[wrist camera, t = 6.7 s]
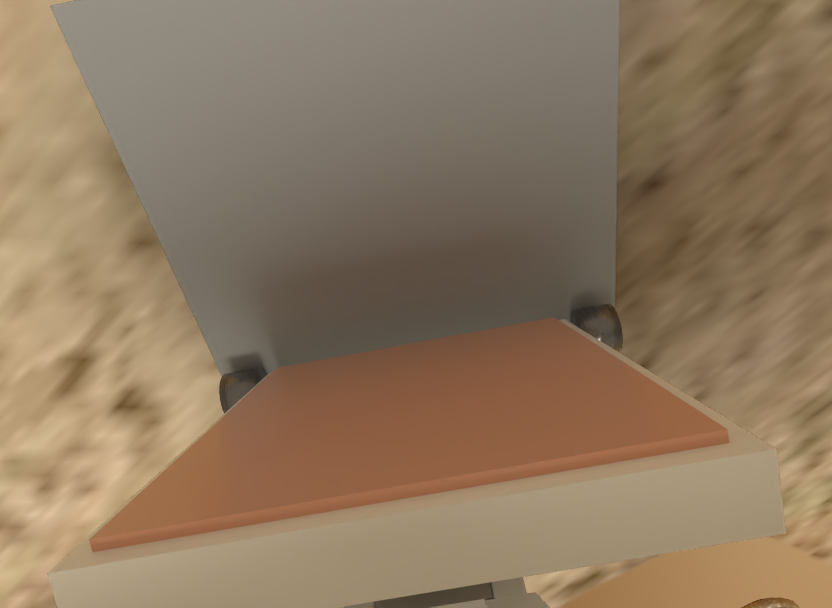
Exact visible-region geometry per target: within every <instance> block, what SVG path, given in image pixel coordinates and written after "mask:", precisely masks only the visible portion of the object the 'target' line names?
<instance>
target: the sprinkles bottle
mask: <svg viewBox="0 0 832 608" xmlns="http://www.w3.org/2000/svg"><path fill="white" fill-rule="evenodd" d="M742 608H799V607H798V605H797V604H795V603H794V602H793V601H791V600H788V599H783V598H765V599H760V600H757V601H754V602H752V603H750V604H748V605H746V606H744V607H742Z"/></svg>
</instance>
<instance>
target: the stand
mask: <svg viewBox="0 0 832 608" xmlns="http://www.w3.org/2000/svg"><path fill="white" fill-rule="evenodd" d="M50 7H51V10H52V12H53V14H54V16H55V18H56V20H57V22H58V25H59V27H60V29H61V31H62V33H63V35H64V38H65V40H66V42H67V44H68V46H69V48H70V50H71V53H72V55H73V57H74V59H75V61H76V63H77V65H78V68H79V70H80V72H81V74H82V76H83V78H84V81H85V83H86V85H87V87H88V89H89V91H90V93H91V96H92V98H93V100H94V102H95V104H96V106H97V109H98V111H99V113H100V115H101V117H102V119H103V121H104V124H105V126H106V128H107V130H108V132H109V134H110V137H111V139H112V141H113V143H114V145H115V147H116V149H117V152H118V154H119V156H120V158H121V160H122V162H123V165H124V167H125V169H126V171H127V173H128V175H129V177H130V180H131V182H132V184H133V186H134V188H135V190H136V193H137V195H138V197H139V199H140V201H141V203H142V205H143V208H144V210H145V212H146V214H147V216H148V218H149V220H150V223H151V225H152V227H153V229H154V231H155V233H156V236H157V238H158V240H159V242H160V244H161V246H162V248H163V251H164V253H165V255H166V257H167V259H168V261H169V264H170V266H171V268H172V270H173V272H174V274H175V276H176V279H177V281H178V283H179V285H180V287H181V289H182V292H183V294H184V296H185V298H186V300H187V302H188V304H189V307H190V309H191V311H192V313H193V315H194V317H195V320H196V322H197V324H198V326H199V328H200V330H201V332H202V335H203V337H204V339H205V341H206V343H207V345H208V348H209V350H210V352H211V354H212V356H213V358H214V360H215V363H216V365H217V367H218V369H219V371H220V373H221V375H222V378H221V381H220V388H219V393H220V401H221V405H222V409H223V411H224V413H226V412H227V411H228V410H229V409H230V408H231V407H232V406H233V405H235V404H236V403H237V402H238V401H239V400H240V399H241V398H242V397H243V396H244V395H246V394H247V393H248V392H249V391H250V390H251V389H252V388H253V387H254V386H256V385H257V384H258V383H259V382H260V381H261V380H262V379H263V378H264V377H266V376H267V375H268V374H269V373H272V372H273V371H274V370H275V369H276V368H279V367H285V366H290V365H295V364H301V363H306V362H312V361H317V360H323V359H328V358H334V357H339V356H345V355H350V354H356V353H361V352H367V351H372V350H378V349H383V348H389V347H394V346H400V345H405V344H411V343H416V342H421V341H427V340H432V339H438V338H443V337H449V336H454V335H460V334H465V333H471V332H476V331H482V330H487V329H493V328H498V327H504V326H509V325H515V324H520V323H526V322H531V321H537V320H542V319H547V318H553V317H555V318H556V319H558V320H562V319H565V320H567V321H568V322H570V323H572V324H573V325H575V326H577V327H578V328H580V329H581V330H583V331H585V332H586V333H588V334H590V335H591V336H593V337H595V338H596V339H598V340H599V341H601V342H603V343H604V344H606V345H608V346H609V347H611V348H612V349H614V350H616V351H619V350H620V349H621V348H622V342H623V337H622V329H621V324H620V320H619V317H618V314H617V312H616V310H615V294H616V224H617V154H618V84H619V15H620V0H75V1H71V2H66V3H61V4H57V5H52V6H50Z"/></svg>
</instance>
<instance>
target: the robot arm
mask: <svg viewBox="0 0 832 608" xmlns="http://www.w3.org/2000/svg"><path fill="white" fill-rule="evenodd" d="M344 608H550V607H549V606H548V605H547V604H546V603H545V602H544V601H543V600H542V599H541V598H540V597H539V596H538V595H537V594H536V593H535V592H534V593H527V592H526V588H525V584H524V580H523V577H520V578H514V579H507V580H501V581H495V582H489V583H483V584H477V585H471V586H465V587H459V588H453V589H447V590H441V591H435V592H429V593H422V594H416V595H410V596H404V597H398V598H392V599H386V600H380V601H374V602H368V603H362V604H356V605H350V606H344Z"/></svg>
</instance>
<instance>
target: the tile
mask: <svg viewBox="0 0 832 608" xmlns="http://www.w3.org/2000/svg"><path fill="white" fill-rule="evenodd" d="M781 534H786V529H785V520H784V511H783V502H782V493H781V484H780V475H779V466H778V457H777V449H776V448H774V447H772V446H771V445H769V444H767V443H766V442H764V441H763V440H761V439H759V438H758V437H756V436H754V435H753V434H751V433H749V432H748V431H746V430H745V429H743V428H741V427H740V426H738V425H736V424H735V423H733V422H732V421H730V420H728V419H727V418H725V417H723V416H722V415H720V414H718V413H717V412H715V411H714V410H712V409H710V408H709V407H707V406H705V405H704V404H702V403H701V402H699V401H697V400H696V399H694V398H692V397H691V396H689V395H687V394H686V393H684V392H683V391H681V390H679V389H678V388H676V387H674V386H673V385H671V384H670V383H668V382H666V381H665V380H663V379H661V378H660V377H658V376H656V375H655V374H653V373H652V372H650V371H648V370H647V369H645V368H643V367H642V366H640V365H639V364H637V363H635V362H634V361H632V360H630V359H629V358H627V357H626V356H624V355H622V354H621V353H619V352H617V351H616V350H614V349H612V348H611V347H609V346H608V345H606V344H604V343H603V342H601V341H599V340H598V339H596V338H595V337H593V336H591V335H590V334H588V333H586V332H585V331H583V330H581V329H580V328H578V327H577V326H575V325H573V324H572V323H570V322H568V321H567V320H565V319H562V320H558V319H556V318H555V317H553V318H547V319H542V320H537V321H531V322H526V323H520V324H515V325H509V326H504V327H498V328H493V329H487V330H482V331H476V332H471V333H465V334H460V335H454V336H449V337H443V338H438V339H432V340H427V341H421V342H416V343H411V344H405V345H400V346H394V347H389V348H383V349H378V350H372V351H367V352H361V353H356V354H350V355H345V356H339V357H334V358H328V359H323V360H317V361H312V362H306V363H301V364H295V365H290V366H285V367H279V368H276V369H275V370H274V371H273V372H272V373H269V374H268V375H267V376H266V377H264V378H263V379H262V380H261V381H260V382H259V383H258V384H257V385H256V386H254V387H253V388H252V389H251V390H250V391H249V392H248V393H247V394H246V395H244V396H243V397H242V398H241V399H240V400H239V401H238V402H237V403H236V404H235V405H233V406H232V407H231V408H230V409H229V410H228V411H227V412H226V413H225V414H223V415H222V416H221V417H220V418H219V419H218V420H217V421H216V422H215V423H214V424H212V425H211V426H210V427H209V428H208V429H207V430H206V431H205V432H204V433H202V434H201V435H200V436H199V437H198V438H197V439H196V440H195V441H194V442H192V443H191V444H190V445H189V446H188V447H187V448H186V449H185V450H184V451H183V452H181V453H180V454H179V455H178V456H177V457H176V458H175V459H174V460H173V461H171V462H170V463H169V464H168V465H167V466H166V467H165V468H164V469H163V470H161V471H160V472H159V473H158V474H157V475H156V476H155V477H154V478H153V479H152V480H150V481H149V482H148V483H147V484H146V485H145V486H144V487H143V488H142V489H140V490H139V491H138V492H137V493H136V494H135V495H134V496H133V497H132V498H131V499H129V500H128V501H127V502H126V503H125V504H124V505H123V506H122V507H121V508H119V509H118V510H117V511H116V512H115V513H114V514H113V515H112V516H111V517H109V518H108V519H107V520H106V521H105V522H104V523H103V524H102V525H101V526H100V527H98V528H97V529H96V530H95V531H94V532H93V533H92V534H91V535H90V536H88V537H87V538H86V539H85V540H84V541H83V542H82V543H81V544H80V545H78V546H77V547H76V548H75V549H74V550H73V551H72V552H71V553H70V554H69V555H67V556H66V557H65V558H64V559H63V560H62V561H61V562H60V563H59V564H57V565H56V566H55V567H54V568H53V569H52V570H51V571H50V572H49V573H48V577H49V581H50V584H51V588H52V591H53V594H54V598H55V601H56V605H57V608H337V607H344V606H350V605H356V604H362V603H368V602H374V601H380V600H386V599H392V598H398V597H404V596H410V595H416V594H422V593H429V592H435V591H441V590H447V589H453V588H459V587H465V586H471V585H477V584H483V583H489V582H495V581H501V580H507V579H514V578H520V577H526V576H532V575H538V574H544V573H550V572H556V571H562V570H568V569H574V568H580V567H586V566H592V565H598V564H605V563H611V562H617V561H623V560H629V559H635V558H641V557H647V556H653V555H659V554H665V553H671V552H677V551H683V550H690V549H695V548H702V547H708V546H714V545H720V544H725V543H732V542H738V541H743V540H750V539H756V538H762V537H768V536H775V535H781Z"/></svg>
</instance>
